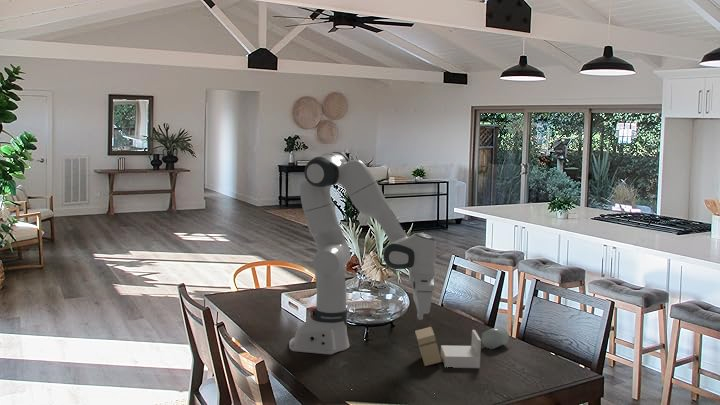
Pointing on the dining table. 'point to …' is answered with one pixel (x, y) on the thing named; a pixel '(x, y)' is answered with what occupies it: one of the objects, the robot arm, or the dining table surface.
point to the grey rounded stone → (495, 337)
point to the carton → (428, 346)
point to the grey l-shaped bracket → (462, 354)
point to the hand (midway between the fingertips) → (419, 318)
